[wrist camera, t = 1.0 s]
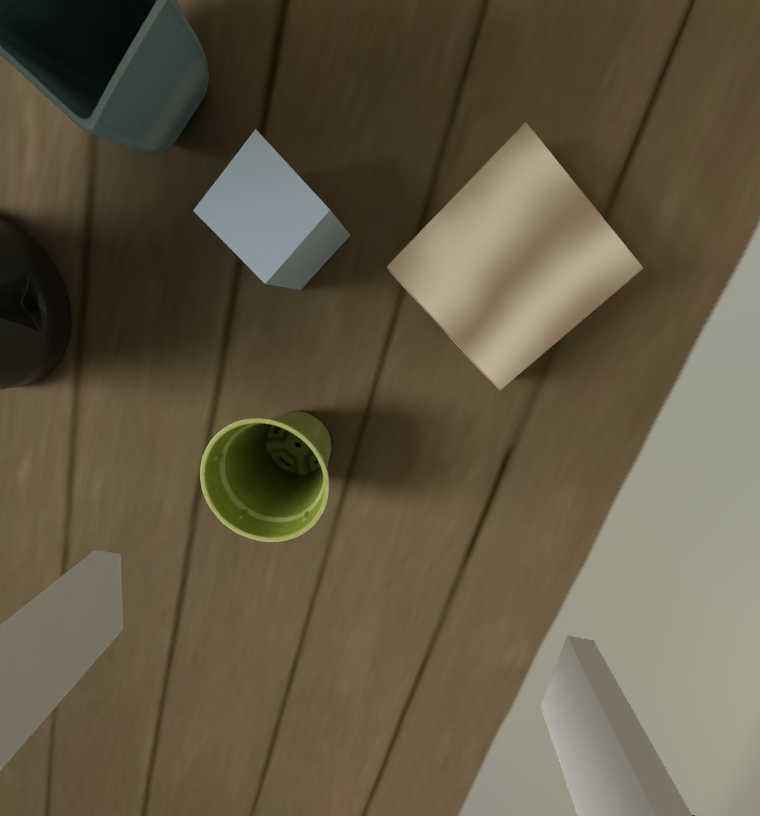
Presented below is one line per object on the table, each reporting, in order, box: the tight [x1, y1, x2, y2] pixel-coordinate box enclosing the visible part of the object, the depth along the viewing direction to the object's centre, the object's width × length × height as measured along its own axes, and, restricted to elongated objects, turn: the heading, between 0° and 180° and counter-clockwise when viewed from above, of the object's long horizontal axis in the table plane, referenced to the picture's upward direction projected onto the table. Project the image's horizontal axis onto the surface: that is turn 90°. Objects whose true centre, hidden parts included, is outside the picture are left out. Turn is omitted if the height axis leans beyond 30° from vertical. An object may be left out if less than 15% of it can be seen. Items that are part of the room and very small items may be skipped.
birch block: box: [387, 122, 643, 390], centre depth 28 cm, size 12×12×5 cm
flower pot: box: [0, 0, 209, 153], centre depth 24 cm, size 9×9×9 cm
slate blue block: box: [193, 129, 350, 290], centre depth 27 cm, size 6×6×8 cm
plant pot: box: [200, 412, 331, 542], centre depth 31 cm, size 9×9×9 cm
